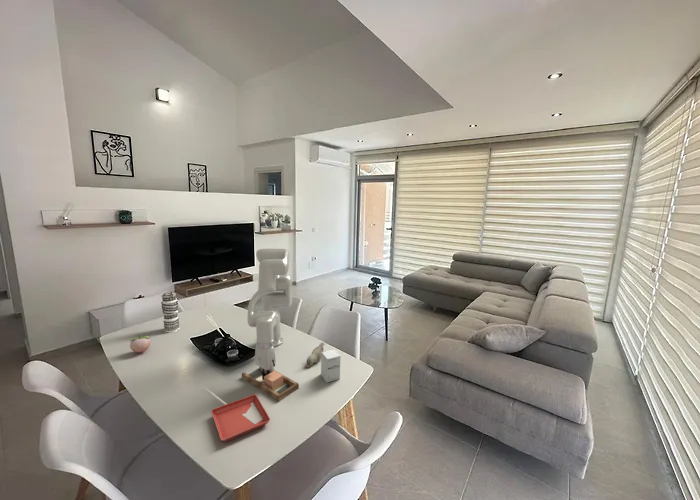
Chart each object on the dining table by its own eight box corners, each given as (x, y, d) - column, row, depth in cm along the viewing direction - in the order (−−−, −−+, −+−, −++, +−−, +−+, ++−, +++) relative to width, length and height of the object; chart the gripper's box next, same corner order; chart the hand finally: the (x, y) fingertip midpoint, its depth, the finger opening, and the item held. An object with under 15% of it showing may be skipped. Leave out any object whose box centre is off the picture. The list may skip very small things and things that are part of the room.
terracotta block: (264, 386, 137) (264, 376, 136) (274, 380, 142) (274, 370, 141) (272, 391, 133) (272, 381, 133) (283, 385, 138) (282, 375, 137)
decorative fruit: (131, 358, 158) (129, 341, 156) (130, 352, 164) (128, 335, 162) (152, 353, 164) (151, 336, 162) (150, 347, 170) (148, 330, 168)
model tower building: (174, 333, 187) (171, 295, 183) (160, 332, 188) (156, 295, 183) (183, 327, 196) (180, 290, 192) (169, 326, 197) (166, 290, 192)
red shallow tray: (271, 426, 115) (271, 419, 114) (221, 448, 104) (221, 440, 104) (255, 400, 129) (255, 393, 128) (211, 417, 119) (210, 409, 118)
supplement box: (326, 383, 141) (326, 359, 139) (320, 375, 148) (320, 351, 146) (340, 379, 145) (340, 355, 142) (334, 371, 151) (334, 348, 149)
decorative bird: (303, 367, 154) (303, 354, 153) (319, 353, 168) (319, 341, 167) (312, 370, 152) (312, 357, 151) (327, 355, 166) (327, 343, 165)
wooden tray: (241, 378, 143) (241, 373, 143) (261, 368, 152) (261, 362, 152) (279, 402, 127) (279, 396, 127) (298, 389, 136) (298, 383, 136)
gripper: (248, 341, 139) (249, 376, 142) (268, 351, 130) (269, 389, 133) (261, 335, 145) (262, 369, 148) (282, 345, 136) (282, 381, 139)
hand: (266, 378), depth 141 cm, fingers closed
